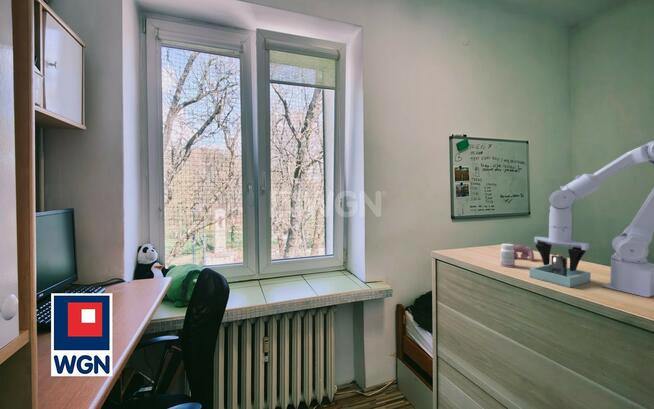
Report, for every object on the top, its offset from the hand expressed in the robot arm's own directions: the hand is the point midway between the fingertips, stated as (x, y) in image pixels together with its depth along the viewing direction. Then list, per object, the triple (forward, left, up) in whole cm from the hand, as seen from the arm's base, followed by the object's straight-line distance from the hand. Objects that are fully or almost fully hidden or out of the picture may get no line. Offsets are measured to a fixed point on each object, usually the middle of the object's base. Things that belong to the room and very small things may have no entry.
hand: (559, 267), depth 93 cm
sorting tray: (0, 0, -4) cm, 4 cm away
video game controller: (+22, -15, -4) cm, 27 cm away
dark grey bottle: (0, 0, -3) cm, 3 cm away
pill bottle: (+18, -1, -4) cm, 19 cm away
